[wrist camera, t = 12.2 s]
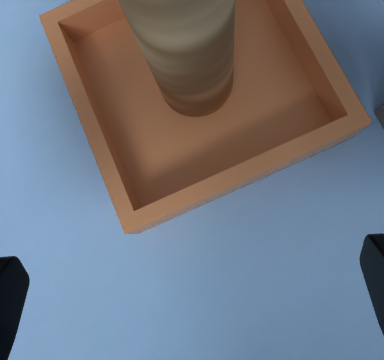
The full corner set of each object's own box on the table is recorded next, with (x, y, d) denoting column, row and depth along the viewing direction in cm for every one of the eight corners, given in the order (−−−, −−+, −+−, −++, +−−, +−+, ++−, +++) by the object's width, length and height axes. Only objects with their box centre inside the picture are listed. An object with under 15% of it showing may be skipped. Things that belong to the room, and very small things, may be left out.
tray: (352, 137, 18) (372, 122, 16) (138, 233, 18) (124, 233, 16) (250, -46, 20) (253, -85, 18) (60, 42, 21) (39, 15, 18)
